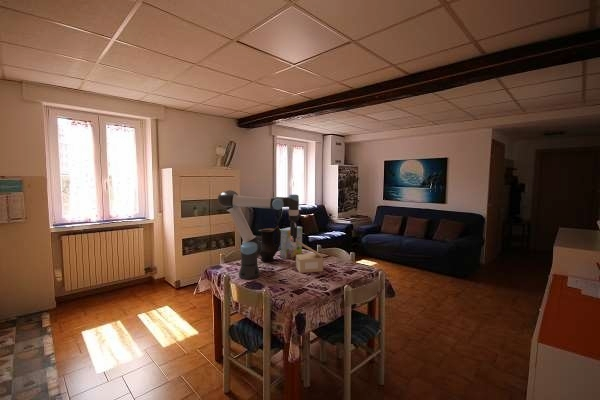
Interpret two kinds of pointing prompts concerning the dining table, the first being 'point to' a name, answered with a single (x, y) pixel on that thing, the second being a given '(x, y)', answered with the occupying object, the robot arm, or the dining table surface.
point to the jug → (269, 244)
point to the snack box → (286, 246)
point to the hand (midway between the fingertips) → (293, 245)
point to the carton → (309, 263)
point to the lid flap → (307, 247)
